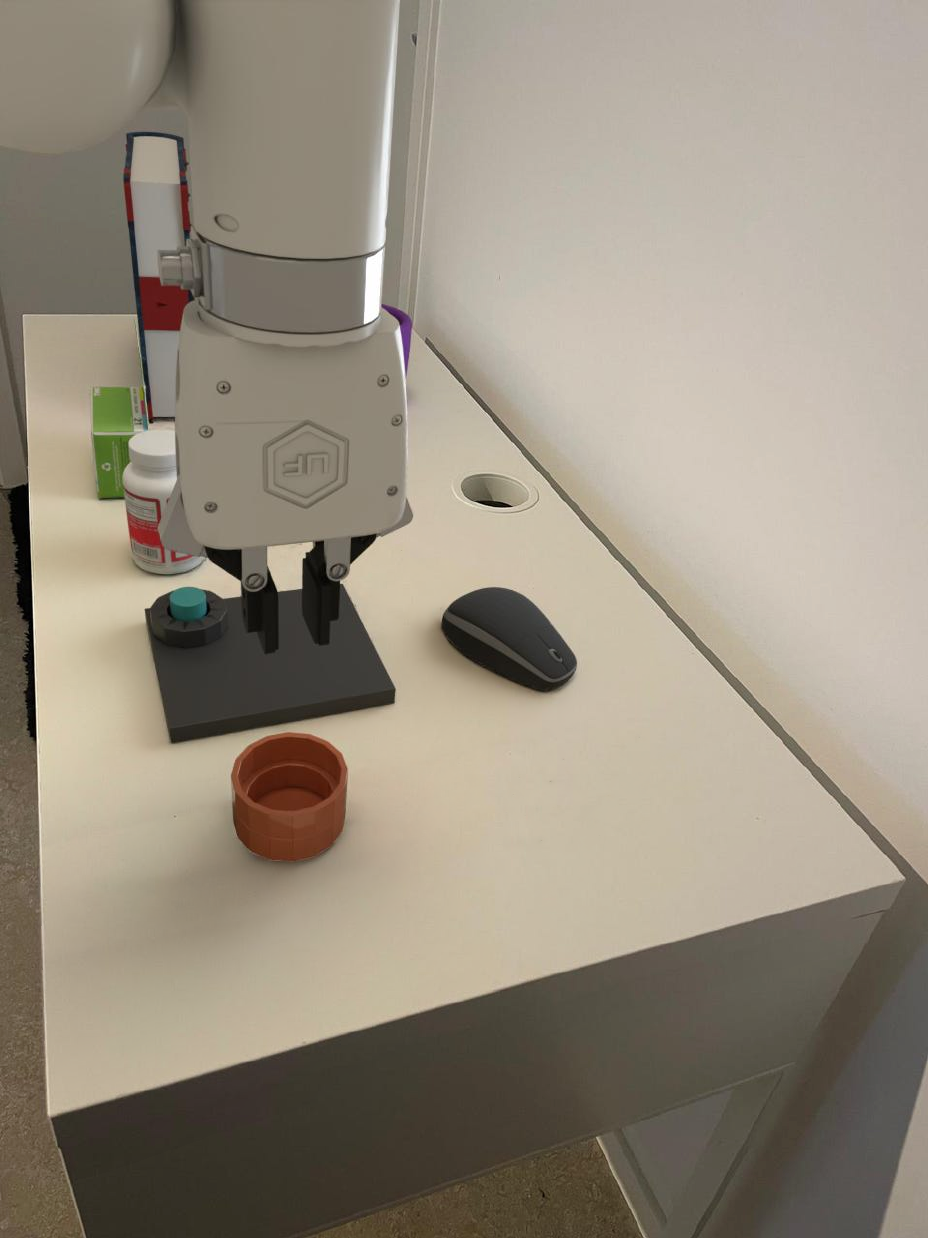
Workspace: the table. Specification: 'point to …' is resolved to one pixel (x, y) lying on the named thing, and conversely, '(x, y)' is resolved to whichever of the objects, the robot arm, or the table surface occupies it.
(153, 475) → the pill bottle
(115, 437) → the ink box
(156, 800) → the table surface
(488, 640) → the computer mouse
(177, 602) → the button
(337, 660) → the scale
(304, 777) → the bowl
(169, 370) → the book
